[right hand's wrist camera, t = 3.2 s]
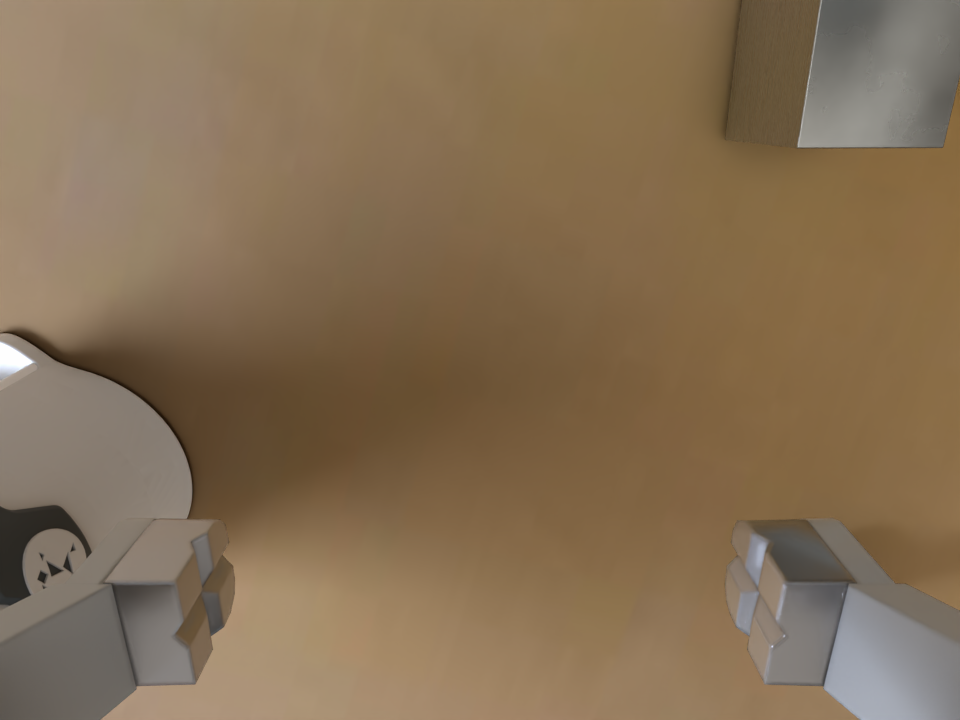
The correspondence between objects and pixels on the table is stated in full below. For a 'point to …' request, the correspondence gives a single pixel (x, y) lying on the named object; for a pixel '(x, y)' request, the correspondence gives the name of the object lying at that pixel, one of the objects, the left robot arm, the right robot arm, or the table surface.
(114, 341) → the table surface
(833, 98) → the bar
